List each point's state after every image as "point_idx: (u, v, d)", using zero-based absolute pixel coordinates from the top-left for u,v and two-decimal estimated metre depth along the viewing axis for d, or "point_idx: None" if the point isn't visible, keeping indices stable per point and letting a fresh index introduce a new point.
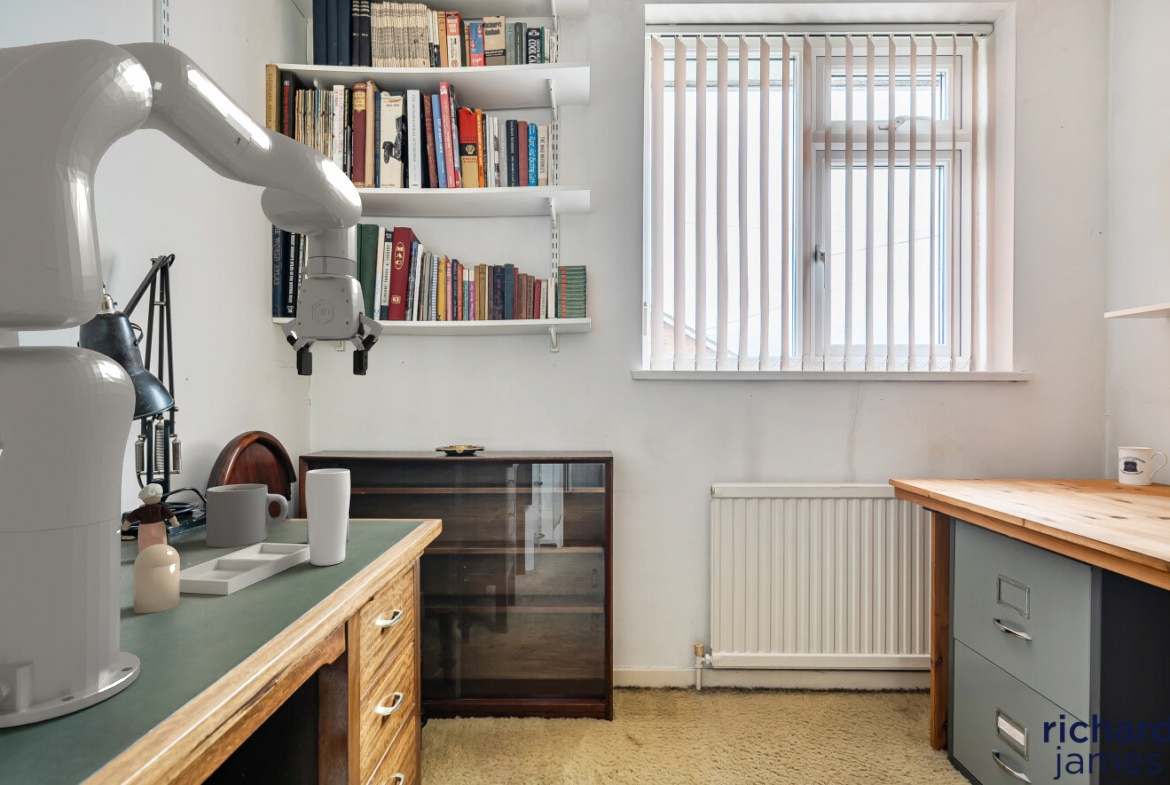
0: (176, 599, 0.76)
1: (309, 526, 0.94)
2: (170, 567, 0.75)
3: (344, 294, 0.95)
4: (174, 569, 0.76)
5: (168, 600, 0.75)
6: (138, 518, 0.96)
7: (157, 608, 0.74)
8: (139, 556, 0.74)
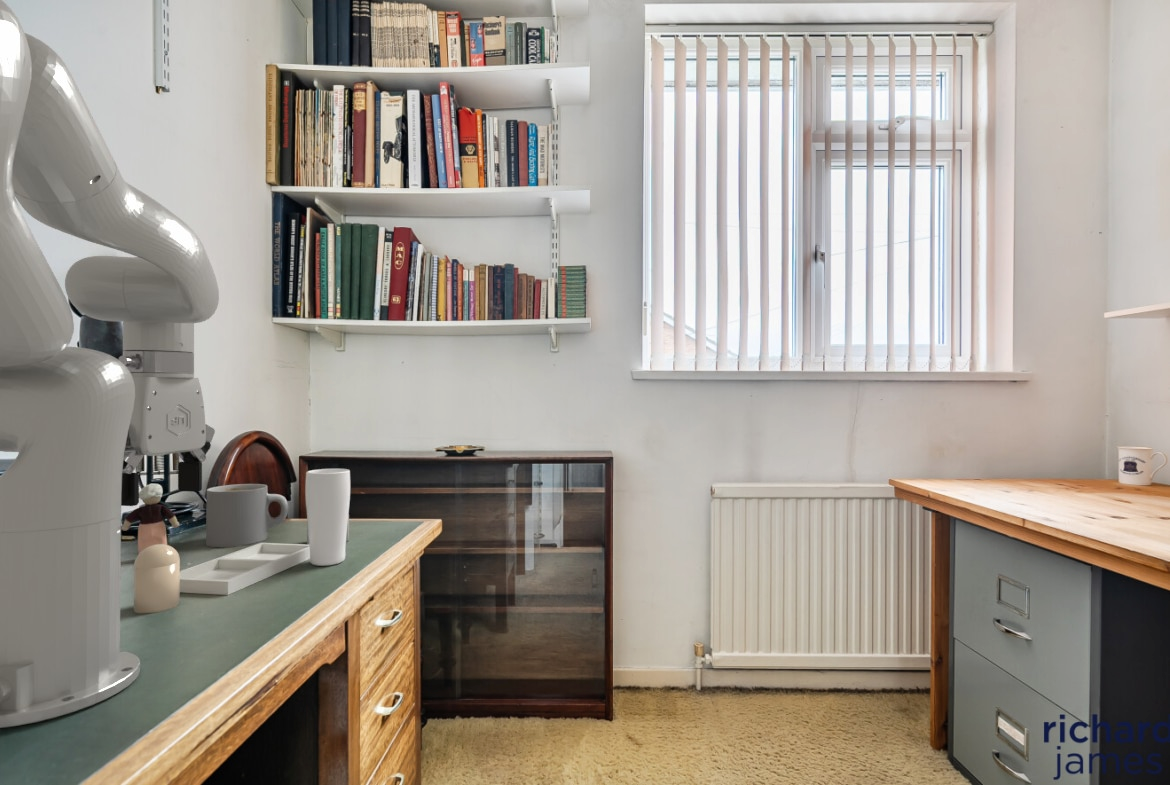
0: (176, 599, 0.76)
1: (309, 526, 0.94)
2: (170, 567, 0.75)
3: (198, 397, 0.79)
4: (174, 569, 0.76)
5: (168, 600, 0.75)
6: (138, 518, 0.96)
7: (157, 608, 0.74)
8: (139, 556, 0.74)
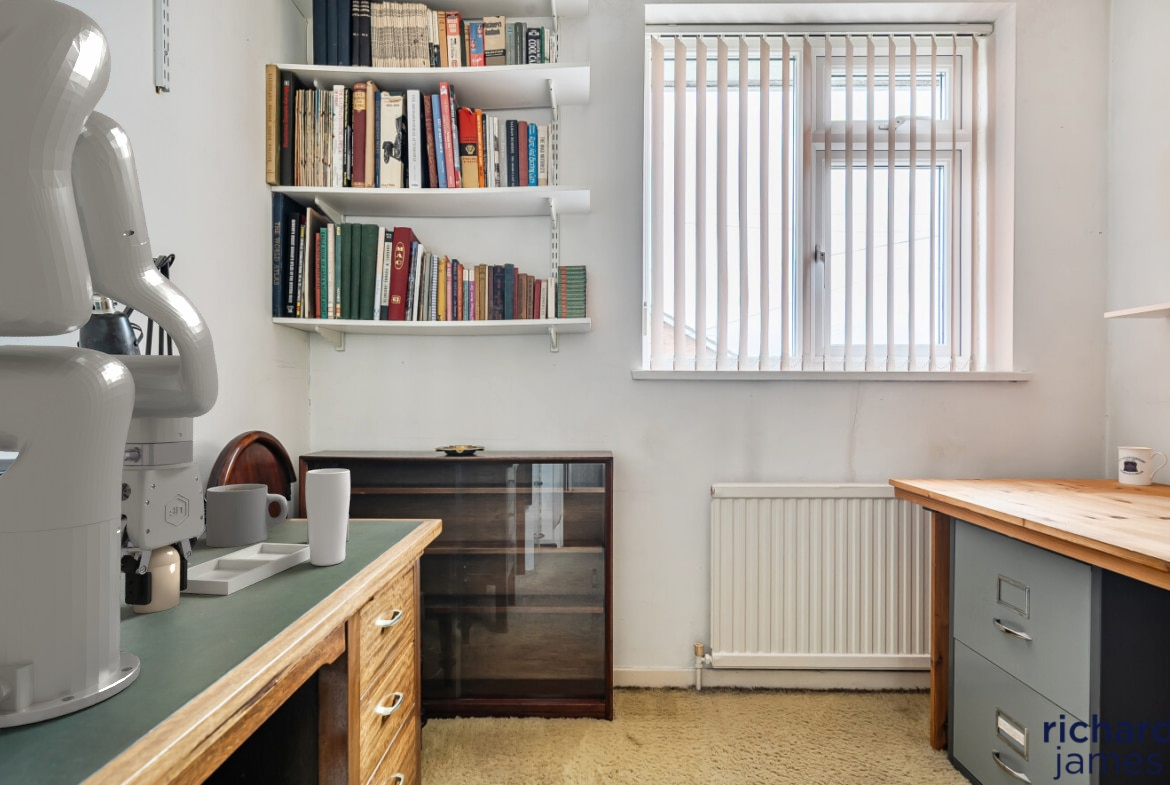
0: (177, 598, 0.76)
1: (309, 526, 0.94)
2: (170, 566, 0.75)
3: (197, 484, 0.79)
4: (174, 568, 0.76)
5: (168, 600, 0.75)
6: None
7: (157, 608, 0.74)
8: None
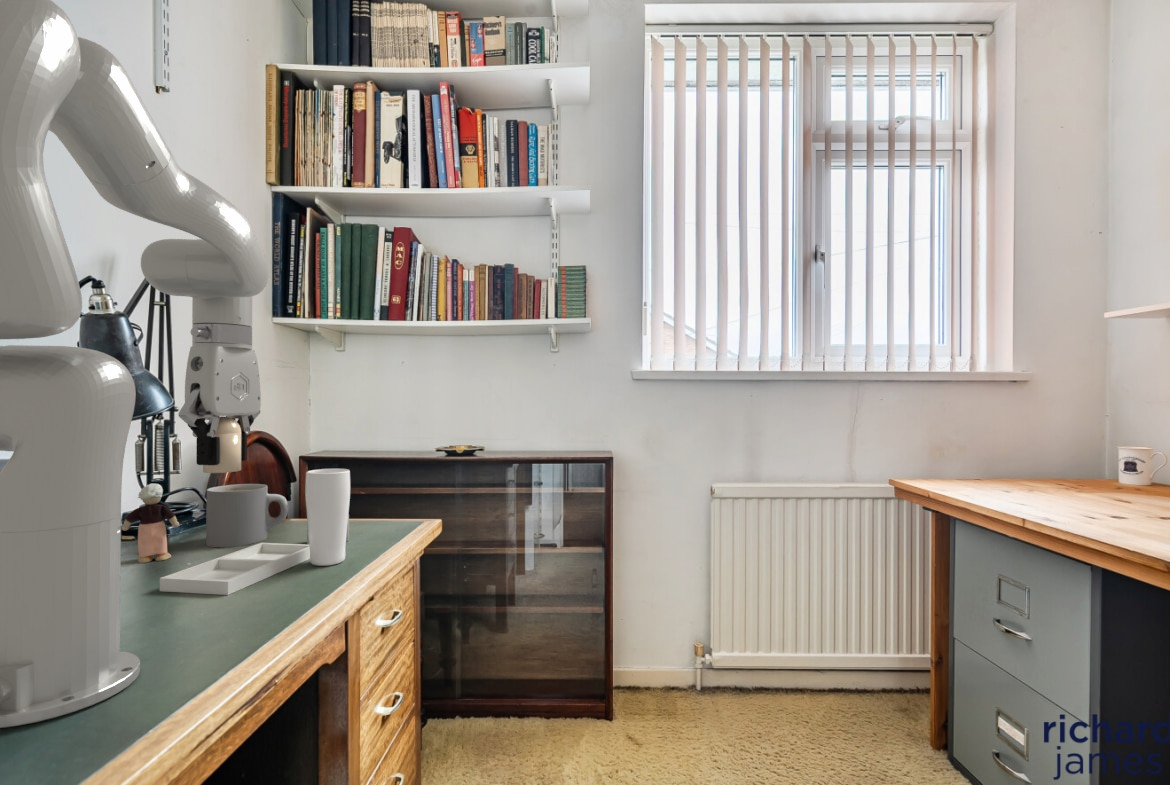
0: (239, 464, 0.87)
1: (309, 526, 0.94)
2: (234, 435, 0.85)
3: (255, 367, 0.89)
4: (237, 437, 0.86)
5: (233, 463, 0.85)
6: (138, 518, 0.96)
7: (224, 469, 0.84)
8: None
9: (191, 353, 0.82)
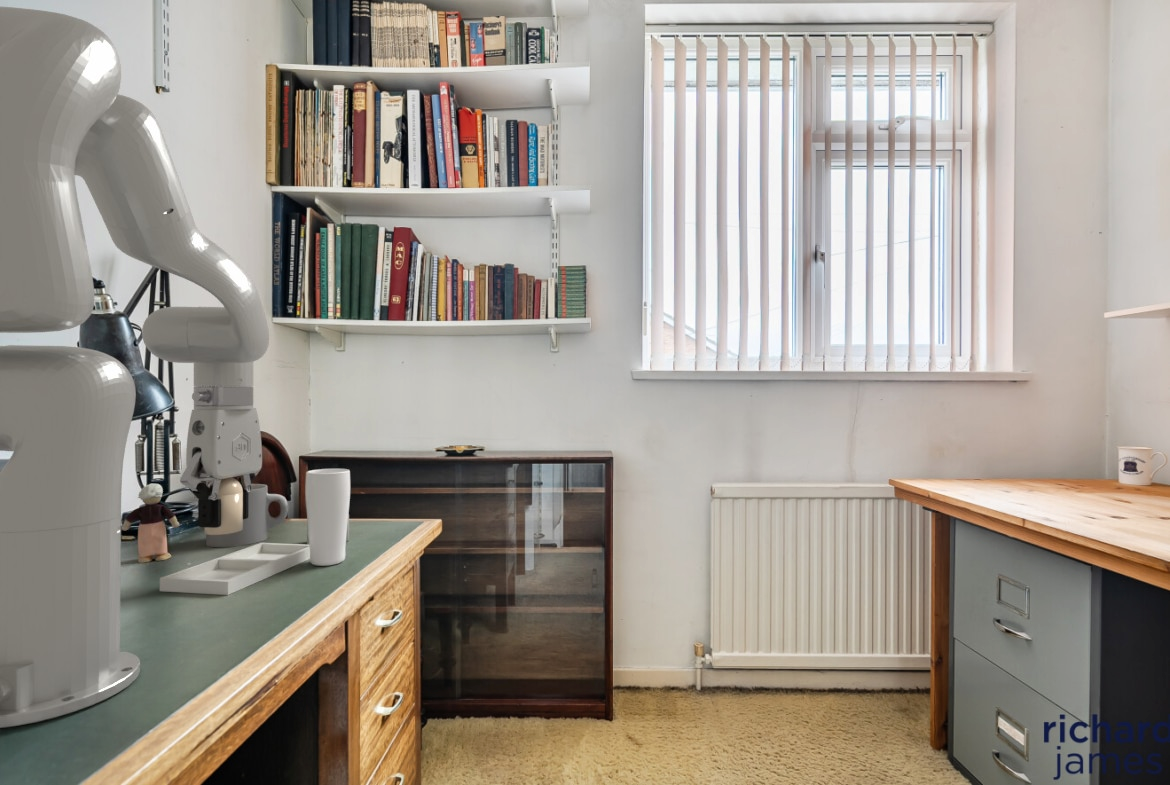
0: (241, 524, 0.87)
1: (309, 526, 0.94)
2: (235, 495, 0.86)
3: (256, 426, 0.90)
4: (238, 497, 0.86)
5: (234, 524, 0.86)
6: (138, 518, 0.96)
7: (225, 530, 0.85)
8: (209, 485, 0.85)
9: (192, 417, 0.82)
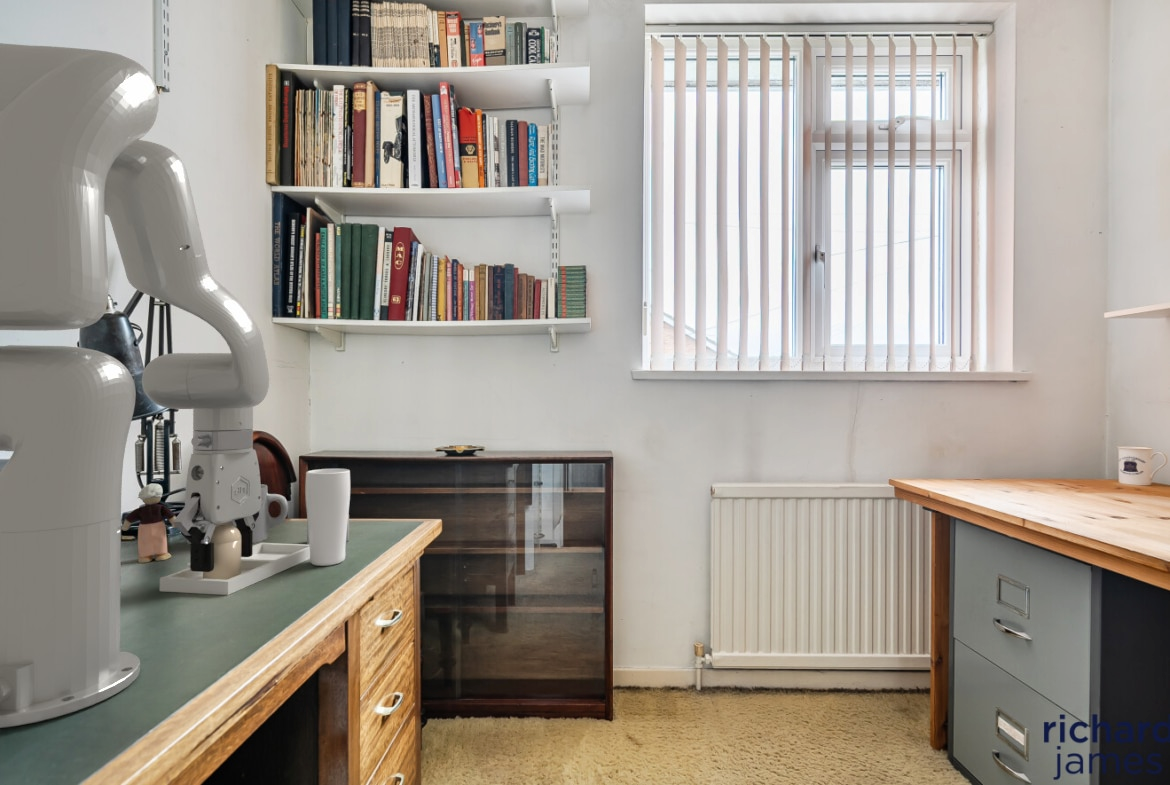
0: (239, 572, 0.86)
1: (309, 526, 0.94)
2: (234, 543, 0.85)
3: (256, 467, 0.89)
4: (237, 545, 0.86)
5: (232, 572, 0.85)
6: (138, 518, 0.96)
7: (224, 579, 0.84)
8: None
9: (192, 461, 0.82)
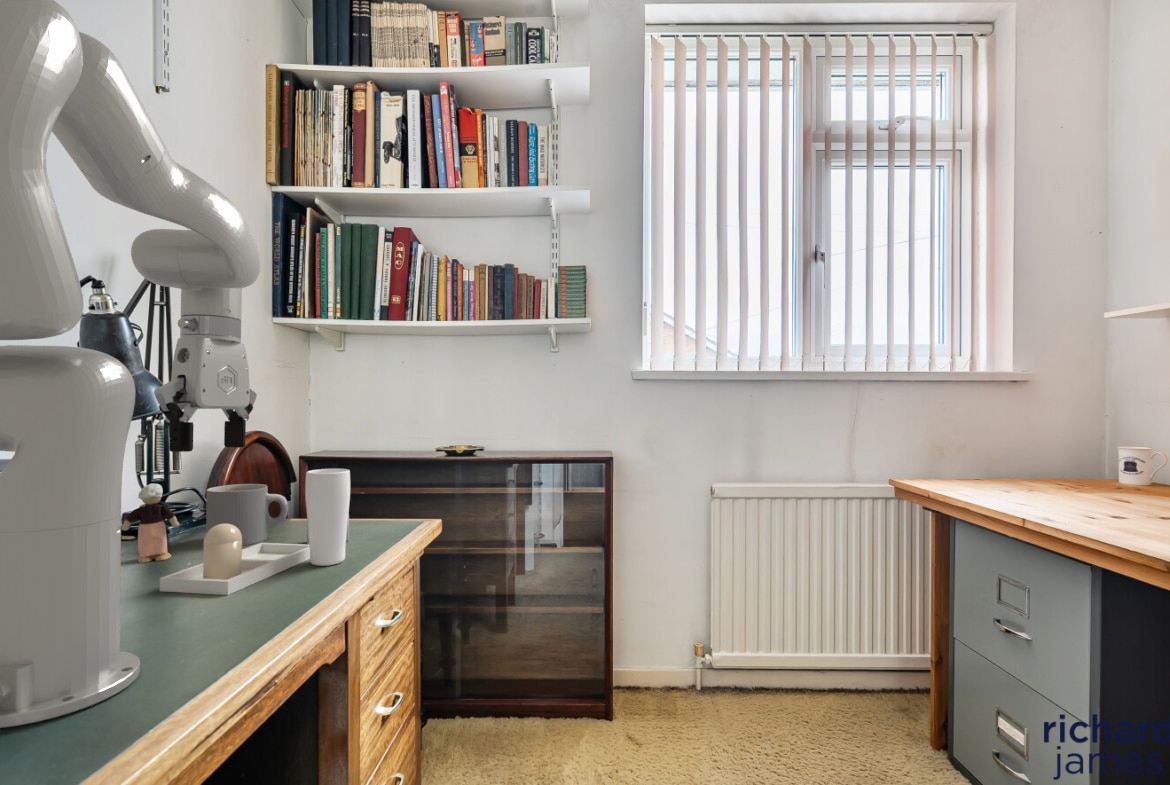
0: (239, 572, 0.86)
1: (309, 526, 0.94)
2: (235, 543, 0.85)
3: (244, 361, 0.89)
4: (238, 545, 0.86)
5: (233, 572, 0.85)
6: (138, 518, 0.96)
7: (224, 579, 0.84)
8: (209, 533, 0.84)
9: (178, 345, 0.82)
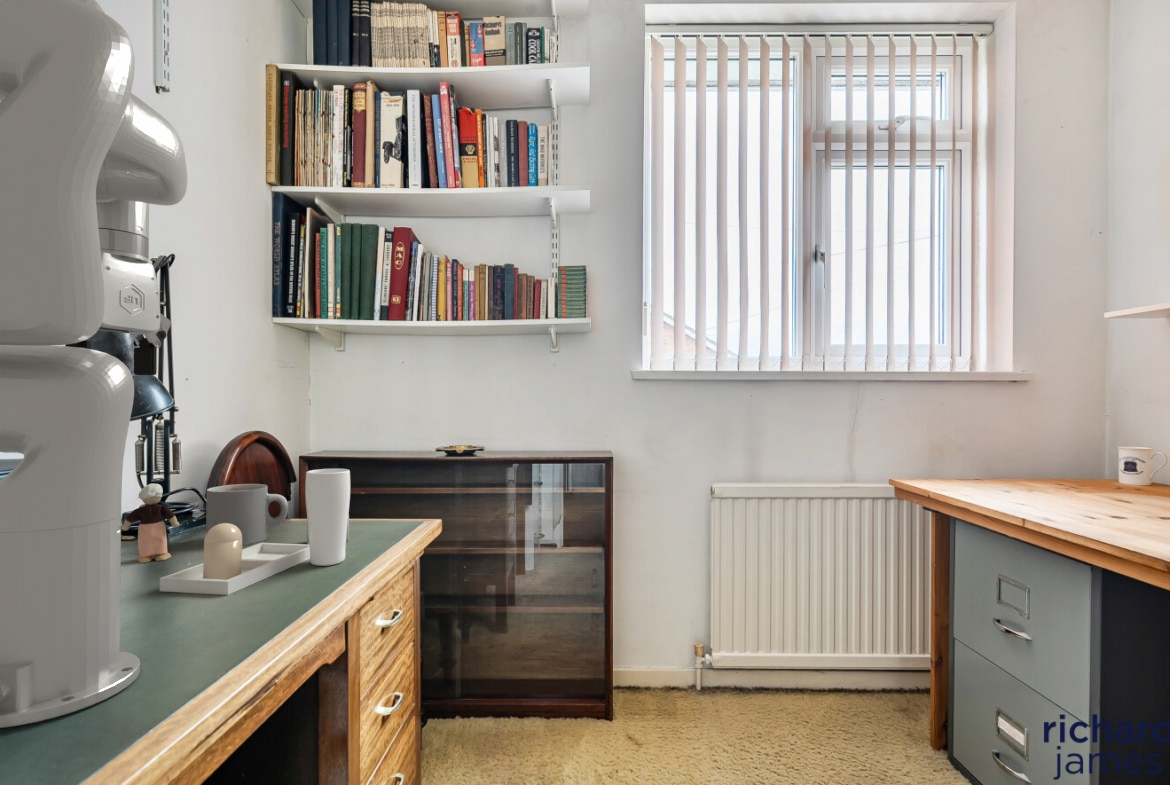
0: (240, 571, 0.87)
1: (309, 526, 0.94)
2: (236, 542, 0.86)
3: (153, 283, 0.84)
4: (238, 544, 0.86)
5: (234, 572, 0.85)
6: (138, 518, 0.96)
7: (225, 578, 0.84)
8: (209, 533, 0.85)
9: None
